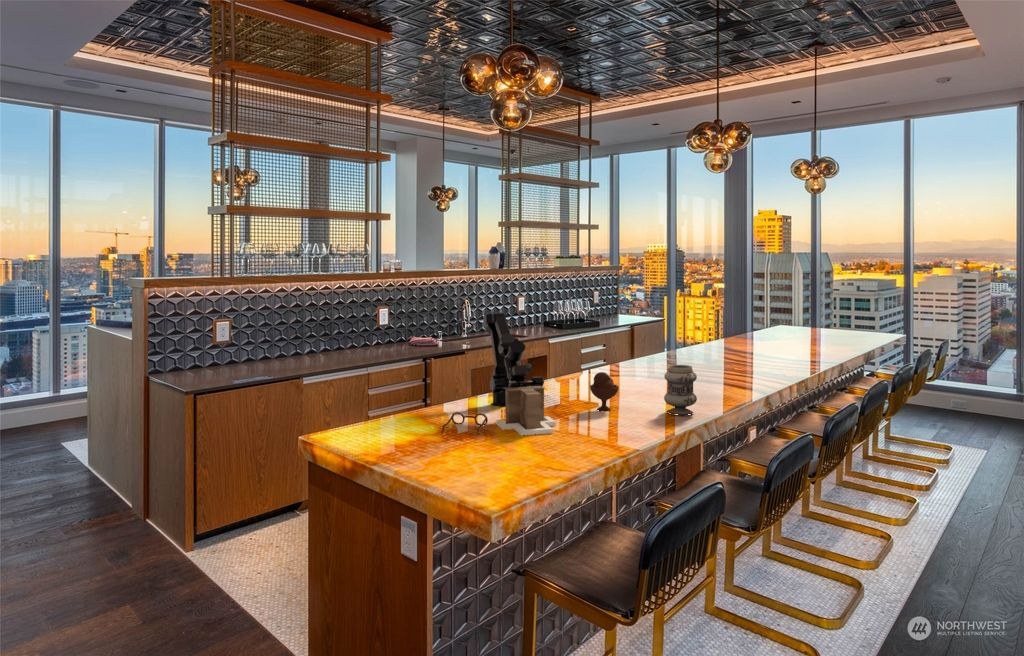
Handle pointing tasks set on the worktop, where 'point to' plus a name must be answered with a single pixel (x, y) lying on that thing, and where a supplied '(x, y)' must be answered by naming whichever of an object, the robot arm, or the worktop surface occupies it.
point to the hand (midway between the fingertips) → (522, 404)
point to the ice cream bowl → (603, 389)
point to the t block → (525, 406)
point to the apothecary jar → (680, 389)
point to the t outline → (522, 431)
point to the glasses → (464, 419)
